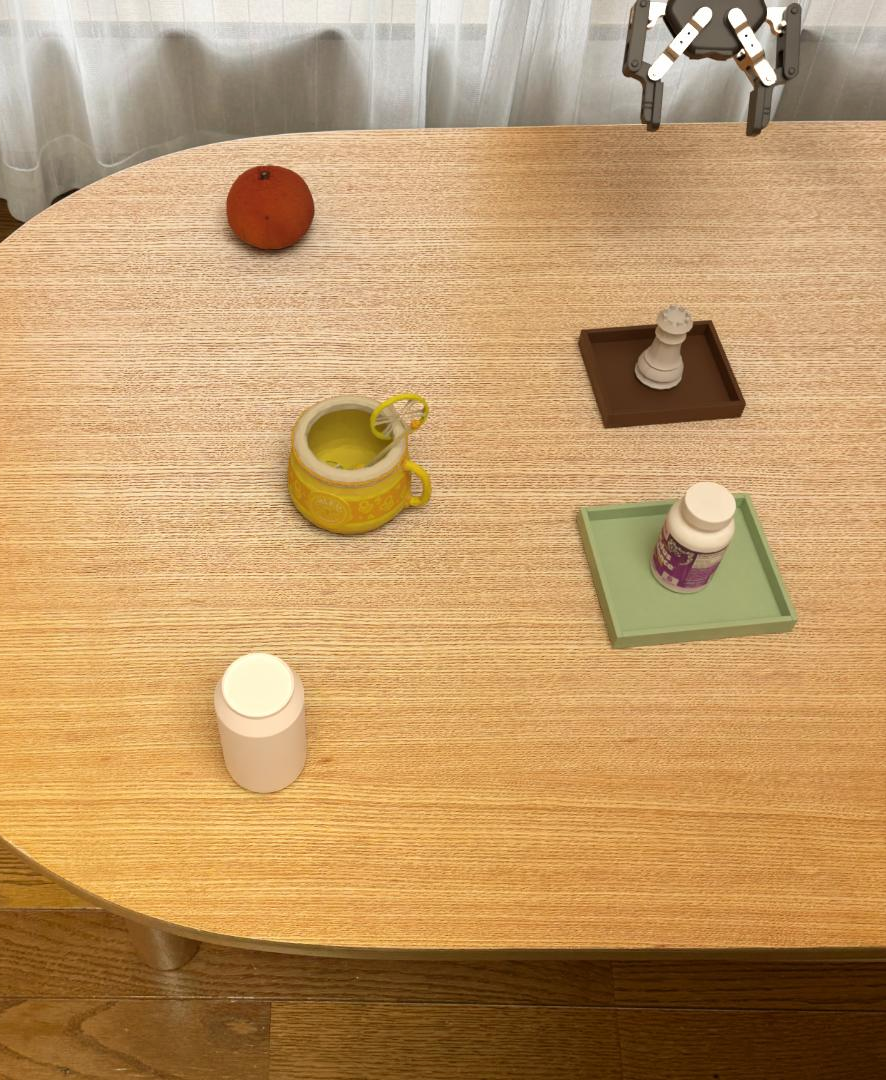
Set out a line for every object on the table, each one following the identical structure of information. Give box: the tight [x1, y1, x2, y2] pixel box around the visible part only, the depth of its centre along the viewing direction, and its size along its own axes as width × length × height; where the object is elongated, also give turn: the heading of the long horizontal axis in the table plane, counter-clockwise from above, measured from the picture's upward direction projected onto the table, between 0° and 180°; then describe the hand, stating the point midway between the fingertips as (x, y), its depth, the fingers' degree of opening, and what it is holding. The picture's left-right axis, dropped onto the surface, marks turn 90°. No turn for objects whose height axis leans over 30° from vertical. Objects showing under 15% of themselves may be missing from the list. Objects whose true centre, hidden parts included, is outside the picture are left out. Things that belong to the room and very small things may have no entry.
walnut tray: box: [577, 319, 747, 429], centre depth 111 cm, size 13×11×2 cm
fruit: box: [225, 164, 316, 250], centre depth 120 cm, size 9×9×8 cm
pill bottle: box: [650, 481, 736, 593], centre depth 95 cm, size 5×5×10 cm
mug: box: [286, 392, 433, 535], centre depth 98 cm, size 13×11×12 cm
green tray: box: [576, 492, 799, 650], centre depth 98 cm, size 15×13×2 cm
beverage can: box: [213, 652, 308, 794], centre depth 84 cm, size 6×6×12 cm
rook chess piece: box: [635, 303, 694, 390], centre depth 108 cm, size 4×4×8 cm
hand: (703, 132), depth 100 cm, fingers open, 8 cm apart
